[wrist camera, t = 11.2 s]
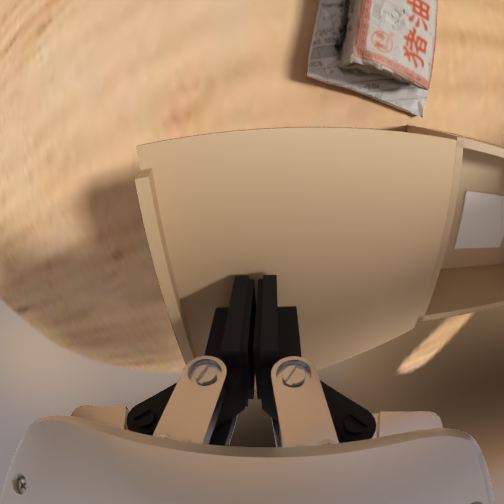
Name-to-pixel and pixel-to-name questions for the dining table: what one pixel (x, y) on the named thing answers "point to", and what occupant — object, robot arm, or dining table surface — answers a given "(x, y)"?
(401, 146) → the lid
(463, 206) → the mailer box
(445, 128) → the dining table surface
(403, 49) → the packaged product
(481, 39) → the dining table surface
